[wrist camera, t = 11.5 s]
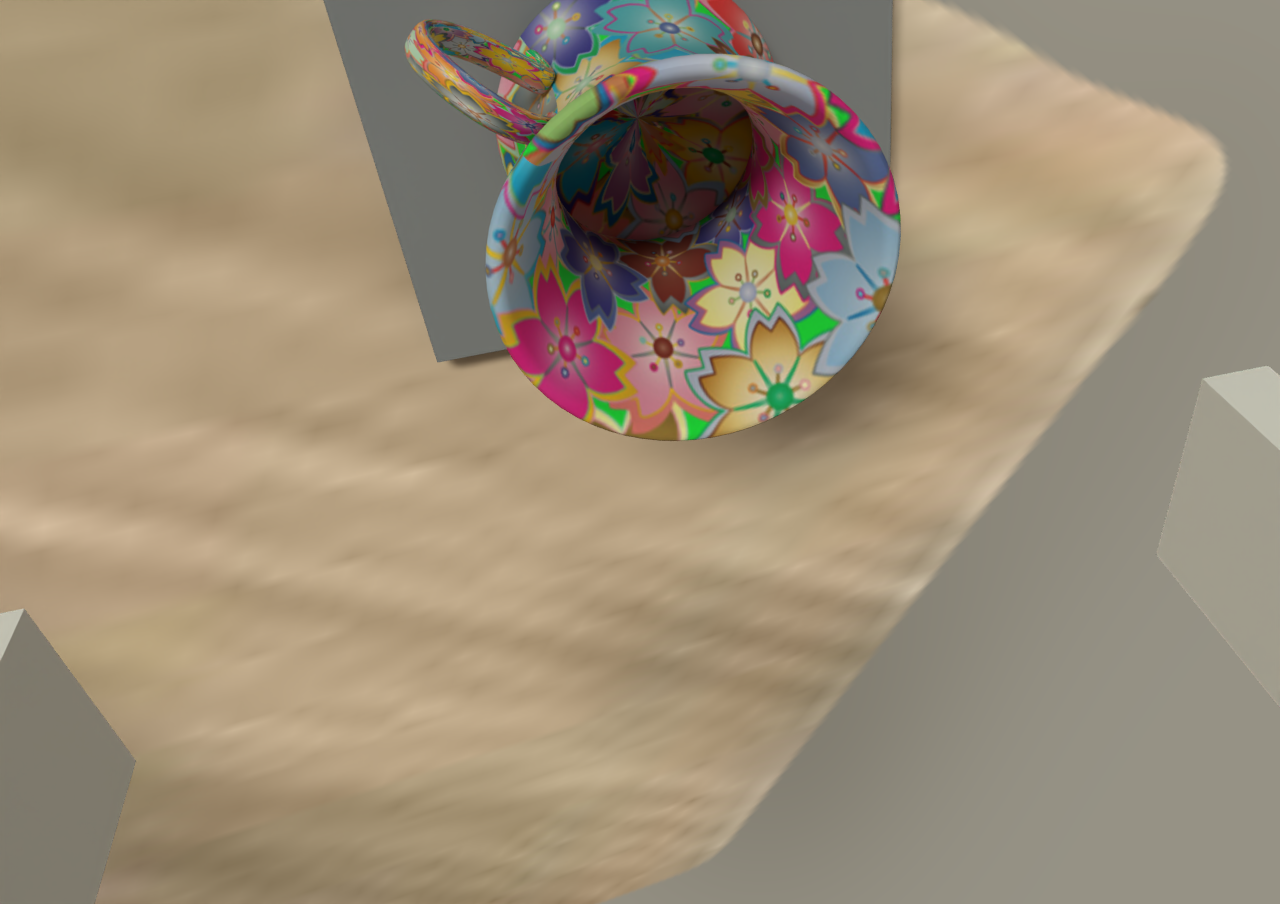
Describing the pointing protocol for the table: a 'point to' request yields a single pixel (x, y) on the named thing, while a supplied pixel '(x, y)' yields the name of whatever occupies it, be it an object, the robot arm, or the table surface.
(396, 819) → the table surface
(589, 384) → the mug
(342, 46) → the slate board
